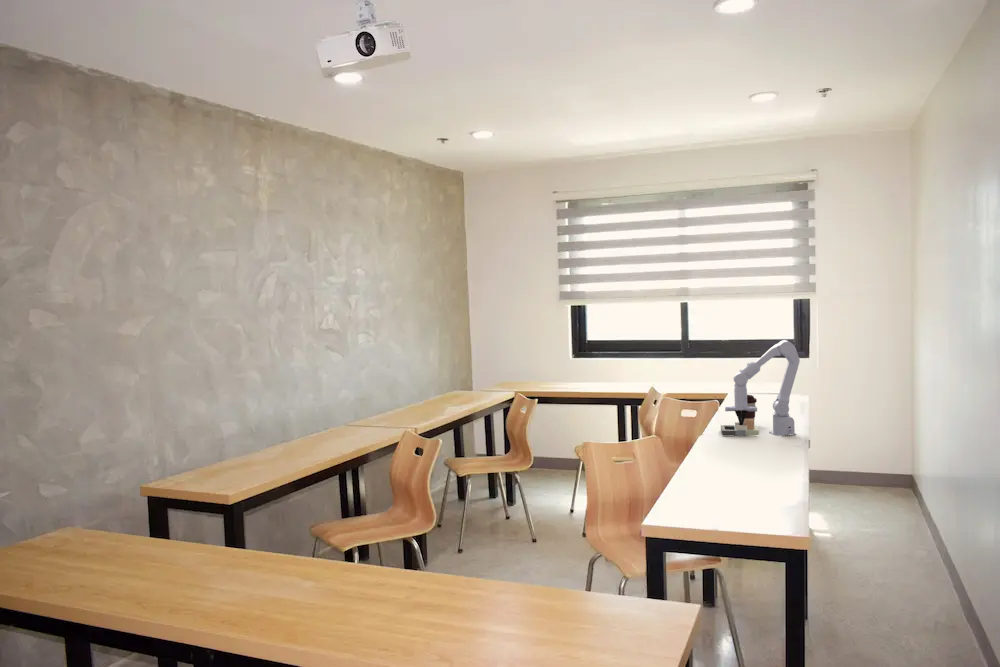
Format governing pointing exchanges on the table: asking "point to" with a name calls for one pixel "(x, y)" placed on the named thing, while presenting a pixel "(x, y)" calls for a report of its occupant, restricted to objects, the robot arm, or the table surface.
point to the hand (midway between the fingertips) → (741, 426)
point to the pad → (752, 431)
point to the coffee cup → (751, 403)
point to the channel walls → (740, 426)
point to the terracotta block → (749, 423)
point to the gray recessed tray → (732, 430)
